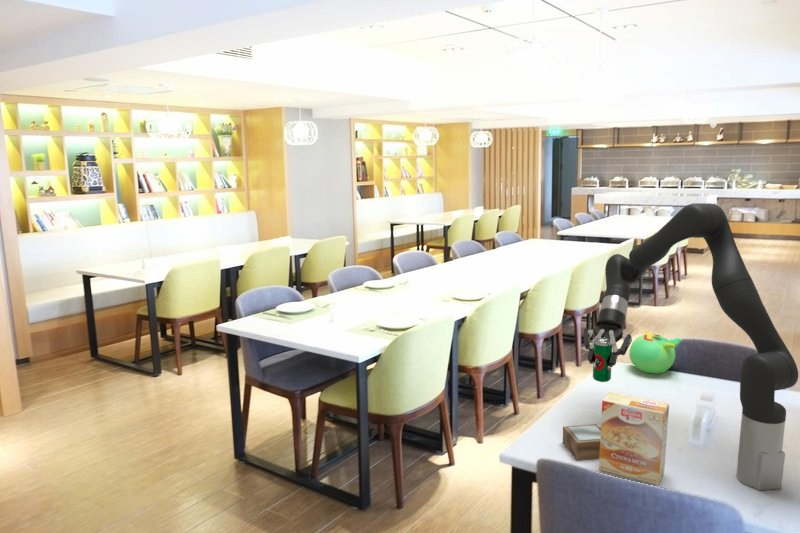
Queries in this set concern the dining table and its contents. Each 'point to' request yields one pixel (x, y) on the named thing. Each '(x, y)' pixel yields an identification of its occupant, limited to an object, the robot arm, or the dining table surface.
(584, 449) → the walnut plinth
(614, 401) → the coffeecake box
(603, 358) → the soda can
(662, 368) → the toy bird
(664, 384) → the dining table surface
